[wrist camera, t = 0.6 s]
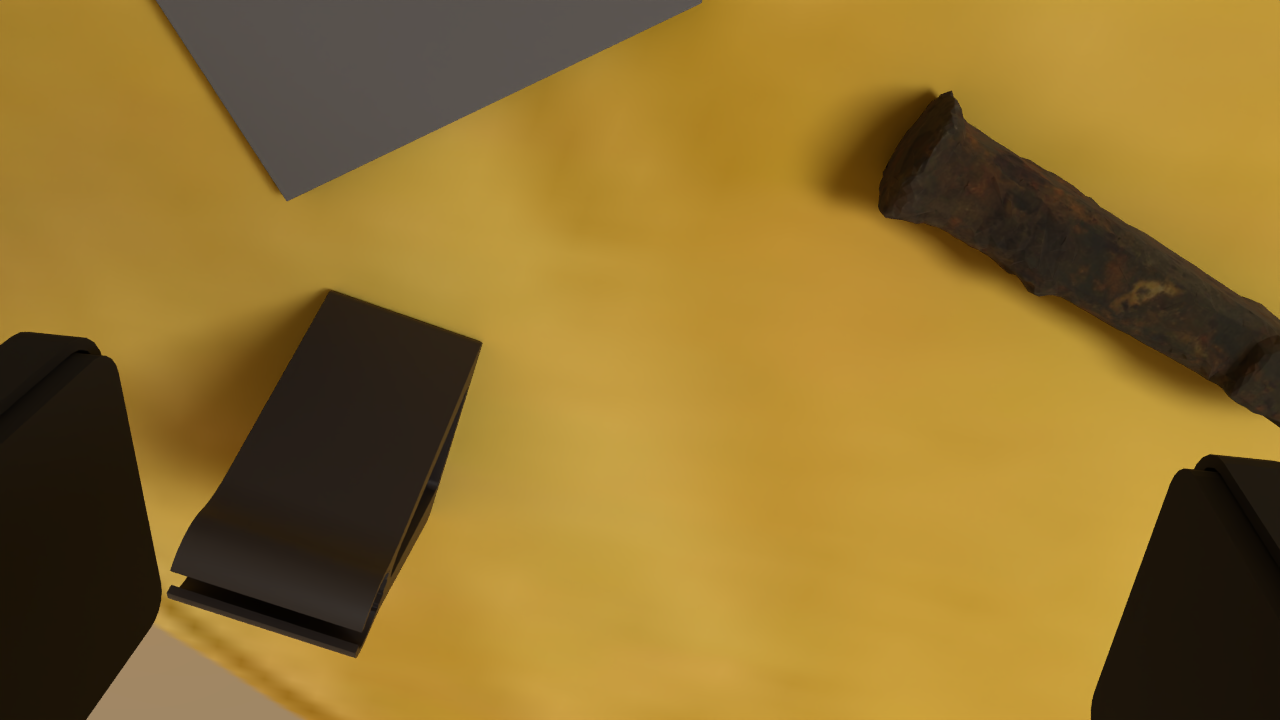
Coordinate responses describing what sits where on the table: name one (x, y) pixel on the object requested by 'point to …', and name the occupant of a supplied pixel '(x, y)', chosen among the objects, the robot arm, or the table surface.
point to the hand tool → (1080, 253)
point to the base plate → (383, 67)
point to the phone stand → (332, 478)
